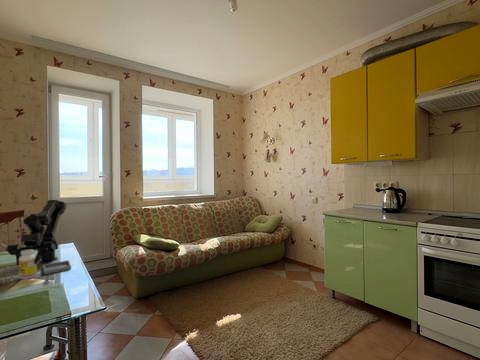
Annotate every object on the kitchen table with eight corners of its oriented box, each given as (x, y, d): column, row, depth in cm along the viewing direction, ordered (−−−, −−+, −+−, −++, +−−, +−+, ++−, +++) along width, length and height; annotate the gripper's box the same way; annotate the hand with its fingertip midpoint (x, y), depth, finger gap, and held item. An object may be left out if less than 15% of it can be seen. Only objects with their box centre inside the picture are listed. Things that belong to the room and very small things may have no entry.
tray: (43, 268, 138) (43, 264, 138) (68, 263, 145) (68, 260, 145) (44, 274, 129) (43, 271, 129) (71, 269, 136) (70, 266, 136)
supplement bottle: (16, 278, 125) (15, 251, 125) (32, 273, 131) (31, 247, 131) (23, 280, 122) (22, 253, 122) (39, 275, 128) (38, 249, 128)
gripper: (7, 228, 127) (-6, 258, 117) (52, 225, 132) (43, 254, 122) (16, 240, 135) (5, 269, 125) (58, 237, 140) (51, 265, 130)
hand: (26, 264), depth 125 cm, fingers closed on supplement bottle, 7 cm apart
